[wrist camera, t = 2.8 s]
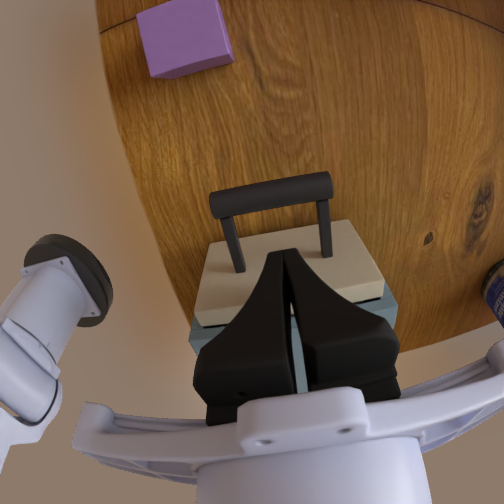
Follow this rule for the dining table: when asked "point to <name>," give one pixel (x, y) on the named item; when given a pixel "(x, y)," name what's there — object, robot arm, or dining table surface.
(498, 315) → the pill bottle
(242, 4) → the dining table surface
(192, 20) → the cube
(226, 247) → the beige drawer
